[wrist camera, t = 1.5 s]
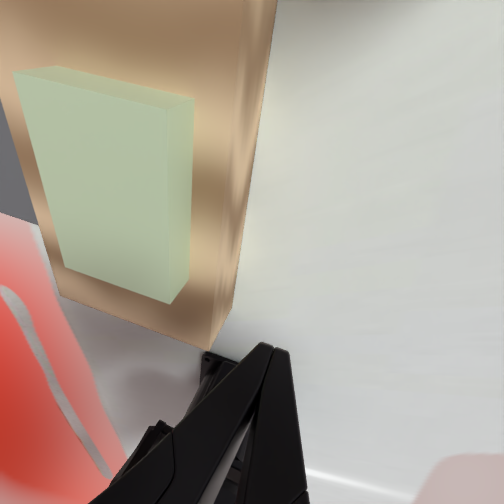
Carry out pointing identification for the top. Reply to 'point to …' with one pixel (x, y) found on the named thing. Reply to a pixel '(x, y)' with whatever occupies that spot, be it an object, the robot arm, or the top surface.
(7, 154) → the mat
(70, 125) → the pale green foam block
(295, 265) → the top surface
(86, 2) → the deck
